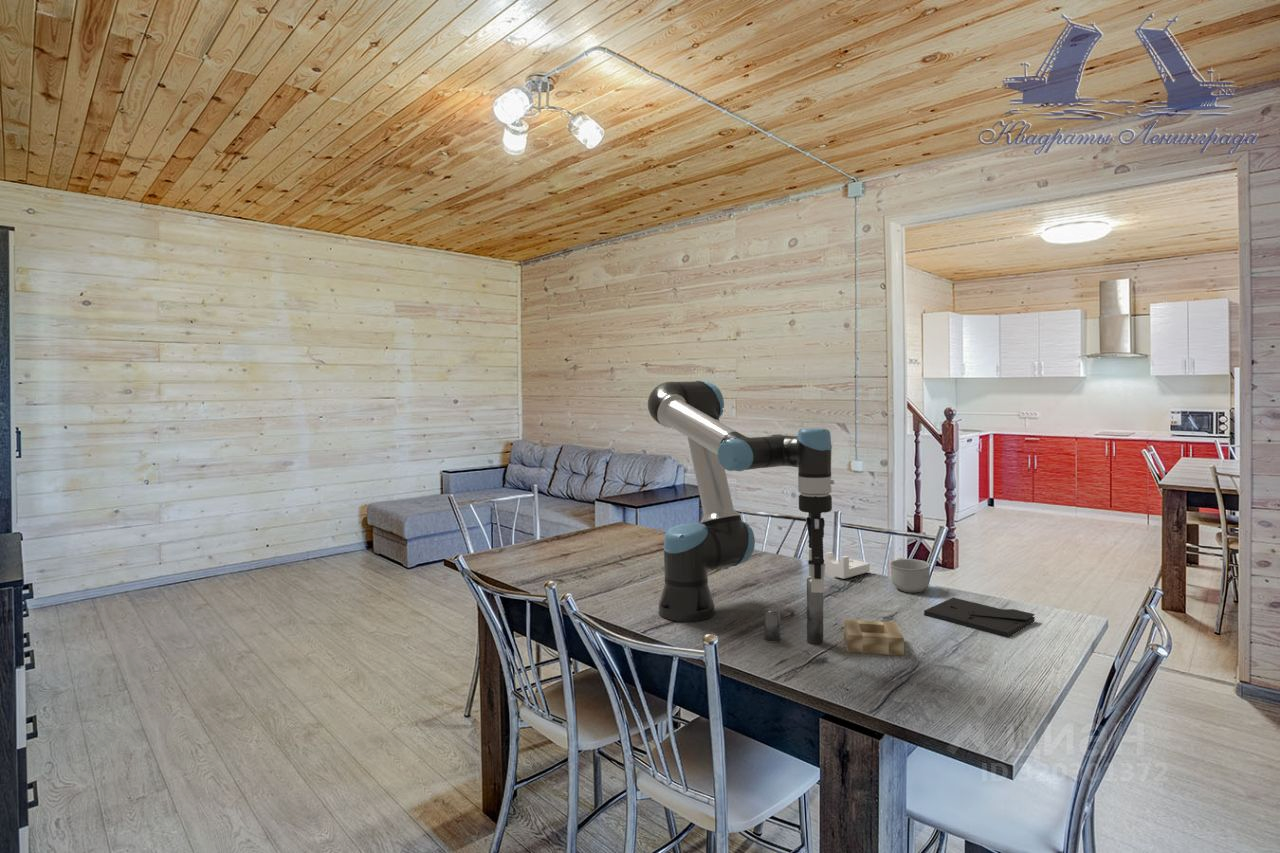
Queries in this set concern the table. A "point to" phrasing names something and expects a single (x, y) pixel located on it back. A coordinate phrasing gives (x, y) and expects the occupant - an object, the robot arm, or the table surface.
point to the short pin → (772, 624)
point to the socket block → (873, 637)
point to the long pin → (814, 616)
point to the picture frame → (981, 617)
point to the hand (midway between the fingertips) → (816, 583)
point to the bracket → (844, 567)
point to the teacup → (910, 574)
